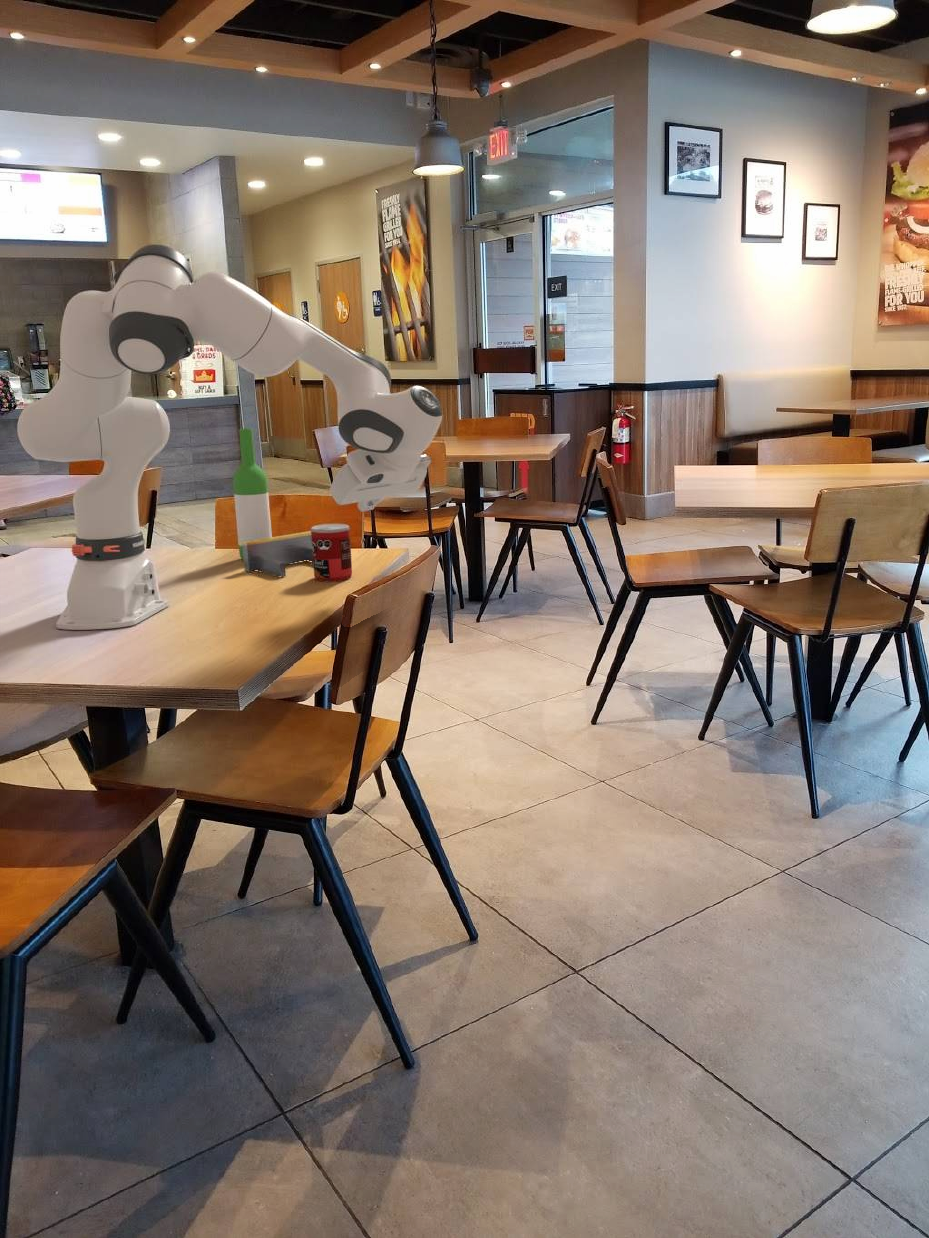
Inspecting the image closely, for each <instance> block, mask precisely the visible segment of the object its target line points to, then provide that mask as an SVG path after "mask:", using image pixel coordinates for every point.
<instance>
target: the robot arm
mask: <svg viewBox="0 0 929 1238" xmlns="http://www.w3.org/2000/svg"><path fill="white" fill-rule="evenodd" d="M113 280H114V282H115V285H114V287H113V288H112V289H110V290H109V291H102V290H101V291H100V290H84V291H81V292H78V293H77V294H76V295H74V296H72V297H71V298H70V300H69V301H68V302H67V304H66V307H65V309H64V313H63V317H62V322H61V327H60V329H61V330H60V337H59V338H60V342H59V343H60V344H59V347H60V348H59V349H60V350H59V351H60V355H59V357H60V361H59V362H60V365H59V366H60V367H59V377H58V378H57V379H58V380H57V382H56V383H55V385H54V386H53V387H52V388H51V390H49V392H48V393H46V394H45V395H44V396H43V397H41V398H39V399H38V400H36V401H34V402H32V403H30V404H28V405H25V407H24V408H23V410H22V411H21V413H20V414H19V417H18V421H17V428H16V429H17V436H18V440H19V442H20V444H21V446H22V448H23V449H24V450H25V452H26V453H27V454H28V455H30V456H31V457H32V458H33V459H34V460H40V461H49V462H57V463H58V462H59V463H68V462H71V463H72V462H85V461H87V462H88V461H97V460H98V461H103V462H104V465H103V469H102V470H101V472H100V473H99V474H98V475H96V476H95V477H93V478H92V479H90V480H88V481H86V482H85V483H83V484H82V485H81V486H80V487H78V488H77V489H76V491H75V492H74V495H73V498H72V506H73V513H74V520H75V528H76V537H75V544H72V546H71V554H72V556H73V557H75V558H76V563H75V565H74V568H73V570H72V573H71V576H70V580H69V583H68V587H67V589H66V600H67V605H66V607H65V608H64V610H63V611H62V613H61V614H60V617H58V619H57V621H56V623H55V625H56V629H61V630H71V631H72V630H73V631H74V630H75V631H76V630H77V631H79V630H81V631H82V630H85V631H86V630H105V629H118V628H126V627H130V626H135V625H137V624H138V623H141V622H143V621H145V620H146V619H147V618H150V617H151V616H153V615H155V614H156V613H158V612H160V611H162V610H164V609H166V608H168V607H169V605H170V604H169V601H168V599H166V598H161V594H160V590H159V589H160V588H159V583H158V577H157V571H156V567H155V563H154V562H153V561H152V560H150V559H149V558H148V557H147V556H146V554H145V553H144V551H145V550H146V547H145V544H146V543H145V538H144V534H143V531H141V527H140V520H139V519H140V517H139V496H138V495H139V487H140V483H141V479H142V477H143V474H144V472H145V470H146V468H147V467H148V465H149V463H150V462H151V461H152V460H153V458H155V457H156V456H157V455H158V454H160V452H161V451H163V449H164V448H165V446H166V445H167V443H168V441H169V437H170V435H171V434H170V433H171V426H170V420H169V417H168V414H167V413H166V411H165V410H164V408H163V407H162V406H161V404H160V403H158V402H157V401H156V400H155V399H150V398H142V397H135V396H128V394H129V392H130V389H131V385H132V384H131V382H132V372H134V373H138V374H142V375H154V374H155V375H156V374H161V373H163V372H166V371H168V370H170V369H171V368H172V367H174V366H175V365H176V364H178V362H180V360H184V359H186V358H189V357H191V355H193V353H194V350H195V342H202V343H205V344H207V345H209V346H212V347H213V348H214V349H216V350H217V351H219V352H220V353H221V354H223V355H224V356H226V358H228V359H230V361H232V362H233V363H235V364H236V365H237V366H239V367H240V368H242V370H243V369H244V370H245V371H247V372H249V373H251V374H253V375H255V376H258V377H262V378H266V377H267V378H268V377H273V376H277V375H280V374H281V373H283V372H285V371H286V370H288V369H289V368H290V367H291V366H292V365H293V364H294V363H295V362H296V361H297V360H300V361H302V362H303V363H305V364H306V365H308V366H310V367H312V368H313V369H315V370H317V371H318V372H320V373H321V374H323V375H325V376H326V377H328V378H329V379H330V380H331V382H332V384H333V386H334V388H335V389H334V390H335V392H336V395H337V396H336V397H337V398H336V399H337V425H338V433H339V435H340V437H341V439H342V440H343V441H344V442H345V443H346V444H347V445H349V446H351V447H353V448H355V450H353V451H350V452H348V453H347V455H346V458H345V461H346V462H347V463H346V464H344V465H343V466H341V468H340V469H339V470H338V472H337V474H336V475H335V477H334V479H333V480H332V483H331V484H330V488H329V493H330V495H331V497H332V499H333V500H334V502H335V503H336V504H337V505H339V506H343V505H350V504H354V503H358V504H357V508H358V510H359V512H366V511H372V510H373V511H374V509H375V508H376V506H377V505H378V504H379V503H381V502H382V501H383V500H385V498H390V497H395V496H400V495H401V496H402V495H407V494H413V493H415V492H417V491H419V489H420V488H421V486H422V485H423V483H424V481H425V478H426V477H427V474H428V467H429V466H430V464H431V462H432V460H431V457H430V456H428V455H427V454H423V453H424V452H425V451H426V450H427V449H428V448H429V447H430V445H431V443H432V442H433V440H434V439H435V436H436V434H437V432H438V430H439V428H440V426H441V423H442V420H443V416H444V415H443V408H442V405H441V402H440V401H439V399H438V398H437V396H436V395H435V394H434V393H433V392H431V391H430V390H428V388H426V387H423V386H421V385H413V386H411V387H409V388H408V389H406V390H403V391H399V392H394V393H391V392H392V391H391V390H392V388H391V386H392V377H391V374H390V371H389V369H388V368H387V366H385V365H386V364H384V363H383V362H381V361H380V360H378V359H376V358H374V357H372V356H370V355H369V356H368V355H365V354H363V353H360V352H357V351H355V350H352V349H351V348H349V347H347V346H346V345H344V344H342V343H341V342H339V341H338V340H337V339H335V338H334V337H332V336H330V335H329V334H327V333H325V331H323V330H321V329H319V328H318V327H316V326H315V325H313V324H311V323H310V322H308V321H307V320H305V319H303V318H300V317H298V316H296V315H293V314H287V313H285V312H284V311H282V310H281V309H279V308H277V307H276V306H275V305H274V304H272V303H271V302H270V301H269V300H267V299H266V298H265V297H264V296H262V295H260V294H259V293H258V292H256V291H255V290H253V289H252V288H250V287H249V286H247V285H245V284H244V283H242V282H240V281H238V280H236V279H235V278H233V277H231V276H228V275H227V274H225V273H222V272H220V271H208V272H204V273H202V274H201V275H199V276H198V277H197V278H195V279H194V274H193V271H192V267H191V265H190V263H189V261H188V260H187V259H186V258H185V256H184V255H182V254H181V253H180V252H179V251H177V250H176V249H174V248H172V247H169V246H167V245H163V244H157V243H156V244H148V245H144V246H142V247H140V248H138V249H137V250H136V251H135V252H134V253H133V254H132V255H131V256H130V257H129V258H128V260H127V261H126V262H125V264H124V265H122V267H121V268H120V269H119V270H118V271H117V272H116V273H115V274H114V277H113Z"/></svg>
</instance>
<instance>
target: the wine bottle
mask: <svg viewBox="0 0 929 1238" xmlns="http://www.w3.org/2000/svg"><path fill="white" fill-rule="evenodd" d="M238 432H239V433H238V434H239V444H240V456H241V457H240V458H241V464H240V466H238V468H237V469H236V471H235V472H234V475H233V478H232V479H233V480H232V484H233V486H232V487H233V496H234V499H233V500H234V509H235V518H236V519H235V520H236V530H237V533H236V534H237V540H238V541H237V544H238V550H239V556H240V558H241V560H242V559H243V560H242V561H244V556H243V545H242V542H246V541H252V540H258V539H264V538H270V537H273V535H272V522H271V510H270V499H269V489H268V487H269V486H268V478H267V475H266V473H265V471H264V470H263V468H261V467H260V466H258V465H257V463H256V455H255V447H254V445H255V444H254V443H255V442H254V434H253V432H254V431H253V429H252V428H240V429H239V430H238Z"/></svg>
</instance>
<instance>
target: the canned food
mask: <svg viewBox="0 0 929 1238" xmlns="http://www.w3.org/2000/svg"><path fill="white" fill-rule="evenodd" d="M310 531H311V539H312V552H313V563H312V566H313V575H314V579H315V580H317V581H318V580H319V581H318V582H324V581H335V582H341V581H340V580H343V581H345V580H344V579H347V580H349V579H351V578H352V574H353V567H352V562H353V561H352V547H351V546H352V545H351V531H350V526H349V525H348V524H345V523H323V524H318V525H314V526H312V527H310ZM350 577H351V578H350ZM348 578H349V579H348Z"/></svg>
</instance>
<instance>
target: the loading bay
mask: <svg viewBox="0 0 929 1238" xmlns="http://www.w3.org/2000/svg"><path fill="white" fill-rule="evenodd" d="M242 545H243V556H244V560H243V564H244V565H243V566H244V571H245V572H247V571H248V573H252V572H251V571H254V572H256V571H255V570H258V571H257V572H259V571H261V572H260V573H262V572H265V573H264V574H266V573H268V574H267V575H270V574H271V575H270V576H274V575H275V576H274V577H277V576H281V577H280V578H283V577H282V576H287V573H286V566H287V565H286V564H290V563H295V562H299V561H304V560H309V561H312V562H313V552H312V539H311V530H309V531H301V532H296V533H290V534H285V535H277V536H272V537H270V538H264V539H258V540H252V541H246V542H242ZM285 565H286V566H285Z"/></svg>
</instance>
